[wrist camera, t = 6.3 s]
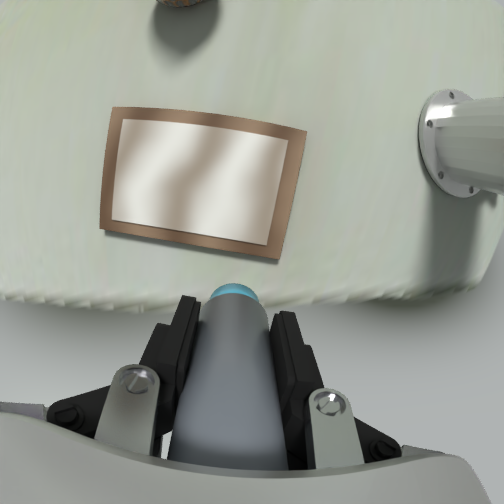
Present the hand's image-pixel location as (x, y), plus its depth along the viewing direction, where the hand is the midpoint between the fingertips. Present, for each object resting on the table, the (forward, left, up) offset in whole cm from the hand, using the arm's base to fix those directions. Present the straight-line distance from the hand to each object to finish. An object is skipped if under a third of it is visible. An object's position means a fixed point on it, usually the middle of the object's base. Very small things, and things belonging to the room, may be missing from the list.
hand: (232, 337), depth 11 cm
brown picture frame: (+5, -4, -16) cm, 18 cm away
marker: (0, 0, -3) cm, 3 cm away
